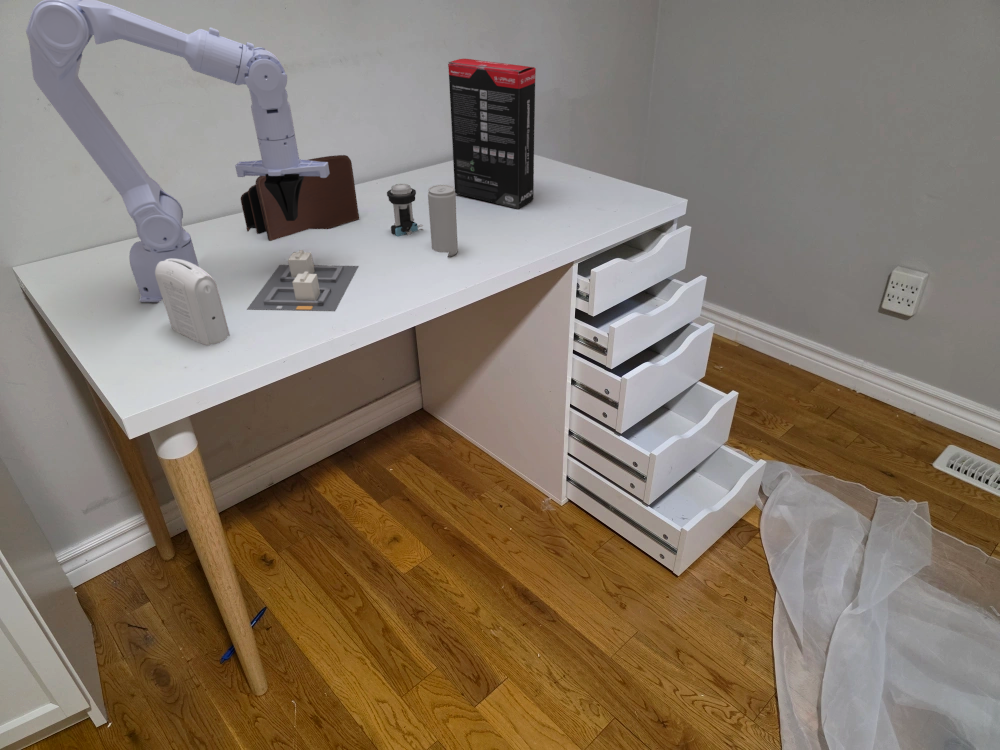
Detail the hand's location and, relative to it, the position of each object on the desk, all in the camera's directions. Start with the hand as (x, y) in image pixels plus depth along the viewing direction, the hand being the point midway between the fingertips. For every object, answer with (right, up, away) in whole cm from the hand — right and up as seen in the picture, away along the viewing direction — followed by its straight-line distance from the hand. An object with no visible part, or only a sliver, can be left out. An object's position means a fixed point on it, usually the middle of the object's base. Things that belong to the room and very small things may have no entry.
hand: (292, 218), depth 115 cm
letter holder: (-4, +4, +23) cm, 24 cm away
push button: (+17, 0, +18) cm, 25 cm away
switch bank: (+3, -12, -1) cm, 13 cm away
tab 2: (+1, -9, +2) cm, 9 cm away
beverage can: (+25, -4, +12) cm, 28 cm away
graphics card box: (+33, +12, +34) cm, 49 cm away
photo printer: (-10, -21, -12) cm, 26 cm away
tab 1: (+4, -14, -5) cm, 15 cm away
